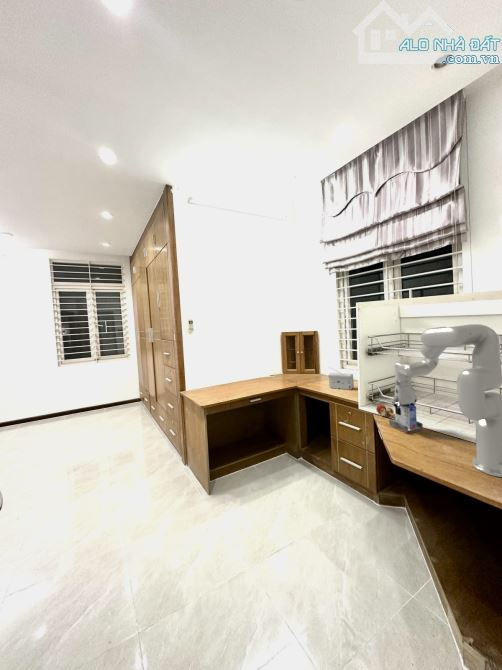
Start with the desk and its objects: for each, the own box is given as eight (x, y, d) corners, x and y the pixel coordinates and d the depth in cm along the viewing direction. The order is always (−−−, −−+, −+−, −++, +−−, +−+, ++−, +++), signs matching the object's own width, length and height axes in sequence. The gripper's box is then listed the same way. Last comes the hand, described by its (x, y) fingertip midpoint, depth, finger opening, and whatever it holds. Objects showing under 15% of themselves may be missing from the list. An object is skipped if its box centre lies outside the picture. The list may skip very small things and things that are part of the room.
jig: (422, 430, 143) (422, 423, 142) (406, 433, 140) (406, 427, 140) (405, 422, 154) (404, 416, 154) (389, 425, 152) (389, 419, 151)
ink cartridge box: (417, 427, 143) (416, 402, 142) (410, 429, 141) (409, 404, 140) (402, 421, 152) (400, 397, 151) (395, 423, 151) (393, 399, 150)
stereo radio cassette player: (354, 388, 231) (352, 366, 230) (351, 390, 224) (350, 368, 223) (331, 386, 244) (329, 365, 242) (328, 388, 237) (326, 367, 236)
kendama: (406, 421, 158) (382, 409, 174) (405, 413, 156) (382, 401, 173) (397, 426, 155) (373, 413, 172) (396, 417, 154) (373, 405, 171)
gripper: (395, 387, 140) (398, 417, 140) (421, 382, 144) (423, 412, 145) (385, 384, 147) (387, 413, 148) (410, 379, 151) (412, 408, 152)
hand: (405, 412), depth 146 cm, fingers open, 9 cm apart
